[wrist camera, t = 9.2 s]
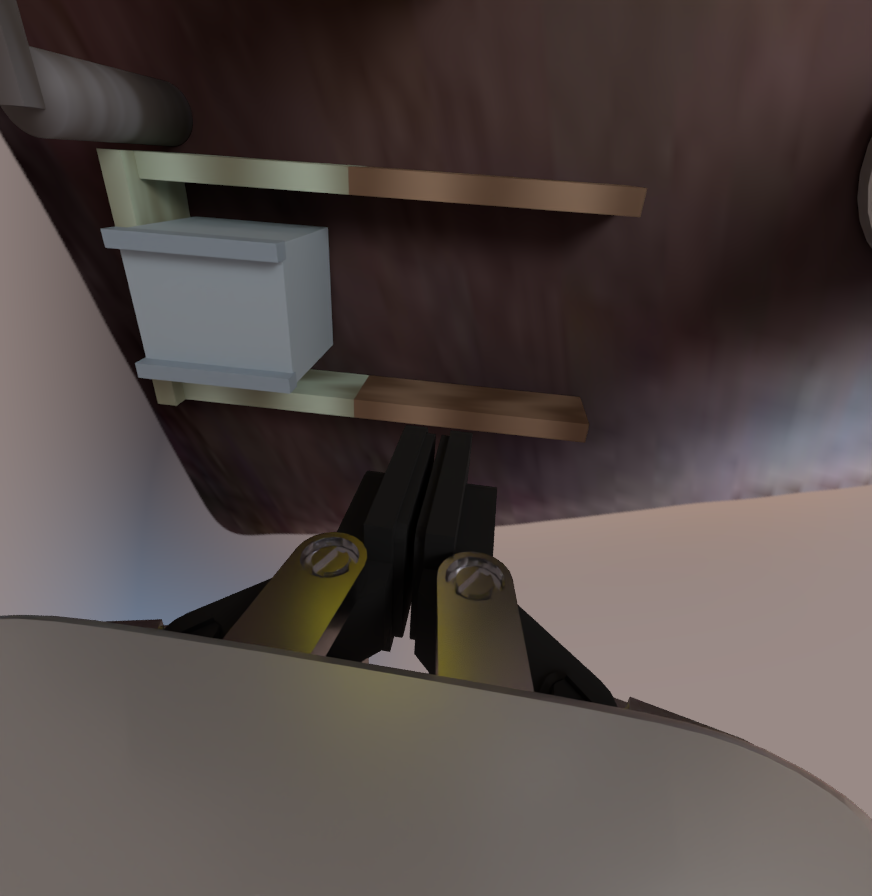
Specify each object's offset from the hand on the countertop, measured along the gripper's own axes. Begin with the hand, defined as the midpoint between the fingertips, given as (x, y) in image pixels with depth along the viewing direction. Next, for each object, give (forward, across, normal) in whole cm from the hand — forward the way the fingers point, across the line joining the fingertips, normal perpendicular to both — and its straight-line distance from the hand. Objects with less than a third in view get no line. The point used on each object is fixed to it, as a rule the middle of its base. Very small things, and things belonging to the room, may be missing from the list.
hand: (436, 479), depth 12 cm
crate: (+20, +13, 0) cm, 24 cm away
